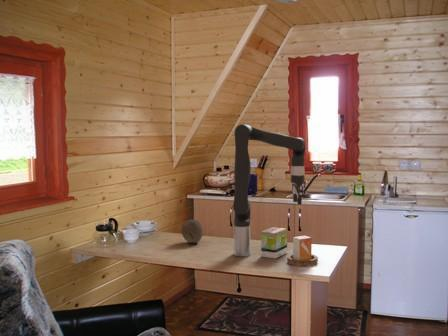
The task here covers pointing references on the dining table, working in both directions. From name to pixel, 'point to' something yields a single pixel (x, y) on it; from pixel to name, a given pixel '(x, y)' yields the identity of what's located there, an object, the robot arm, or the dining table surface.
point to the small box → (302, 248)
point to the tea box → (273, 242)
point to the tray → (302, 261)
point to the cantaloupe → (192, 231)
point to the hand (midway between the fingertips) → (297, 203)
